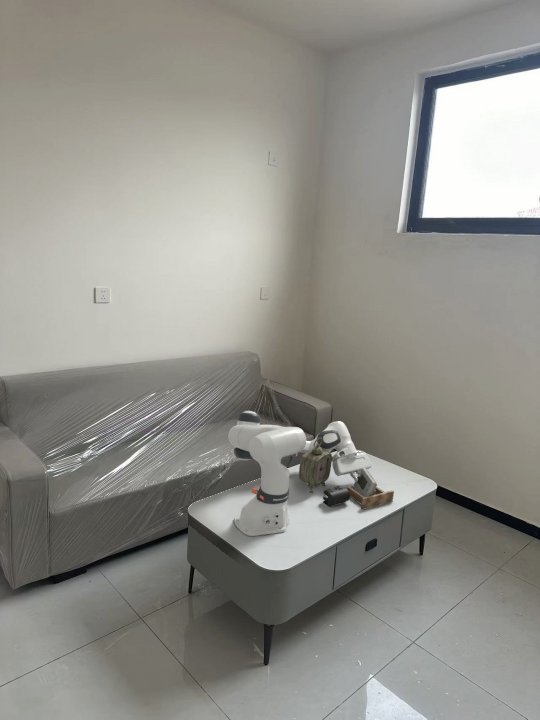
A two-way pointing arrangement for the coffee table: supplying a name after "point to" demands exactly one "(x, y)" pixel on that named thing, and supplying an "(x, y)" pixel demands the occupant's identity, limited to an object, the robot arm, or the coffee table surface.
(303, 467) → the tabletop clock
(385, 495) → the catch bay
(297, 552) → the coffee table surface
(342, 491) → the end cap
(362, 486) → the digital clock
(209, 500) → the coffee table surface
